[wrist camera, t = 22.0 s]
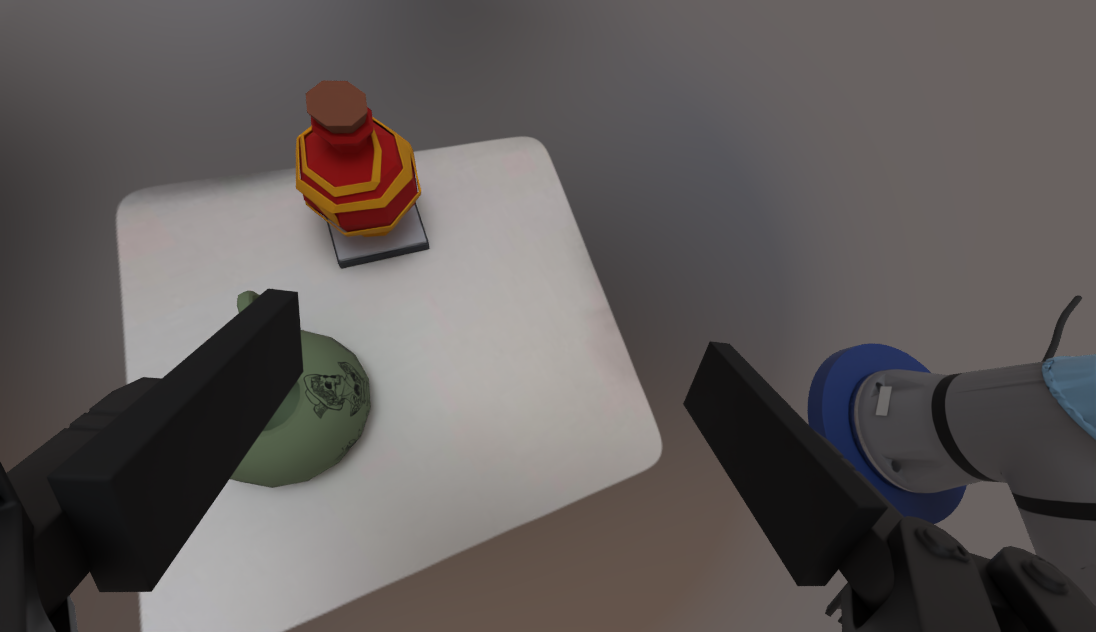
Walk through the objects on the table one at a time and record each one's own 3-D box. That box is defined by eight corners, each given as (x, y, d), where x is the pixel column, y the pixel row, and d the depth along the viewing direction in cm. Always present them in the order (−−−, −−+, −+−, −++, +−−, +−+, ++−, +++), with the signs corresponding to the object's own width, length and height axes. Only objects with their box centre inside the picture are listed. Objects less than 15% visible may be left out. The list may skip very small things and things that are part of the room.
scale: (406, 178, 47) (405, 169, 45) (429, 248, 45) (428, 242, 44) (320, 193, 44) (316, 184, 43) (341, 268, 42) (337, 262, 41)
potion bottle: (443, 233, 44) (441, 134, 30) (348, 277, 41) (297, 187, 27) (393, 157, 46) (369, 28, 32) (297, 193, 42) (223, 66, 28)
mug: (393, 449, 38) (379, 449, 30) (233, 511, 34) (168, 529, 26) (347, 293, 42) (323, 256, 34) (196, 333, 38) (128, 301, 29)
